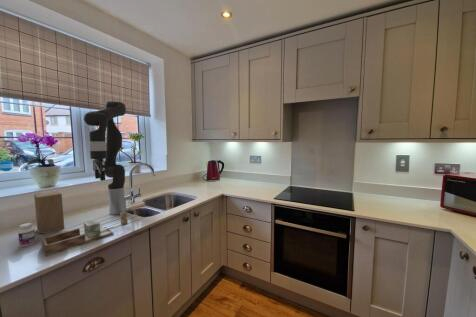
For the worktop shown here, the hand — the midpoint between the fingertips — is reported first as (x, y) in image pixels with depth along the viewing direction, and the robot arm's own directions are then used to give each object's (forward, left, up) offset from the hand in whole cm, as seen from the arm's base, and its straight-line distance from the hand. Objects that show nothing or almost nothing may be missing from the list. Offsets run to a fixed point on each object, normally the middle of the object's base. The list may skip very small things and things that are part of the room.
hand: (100, 179), depth 111 cm
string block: (0, +7, -27) cm, 28 cm away
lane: (+12, +7, -28) cm, 31 cm away
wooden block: (+19, -22, -28) cm, 41 cm away
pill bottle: (+29, -8, -28) cm, 41 cm away
